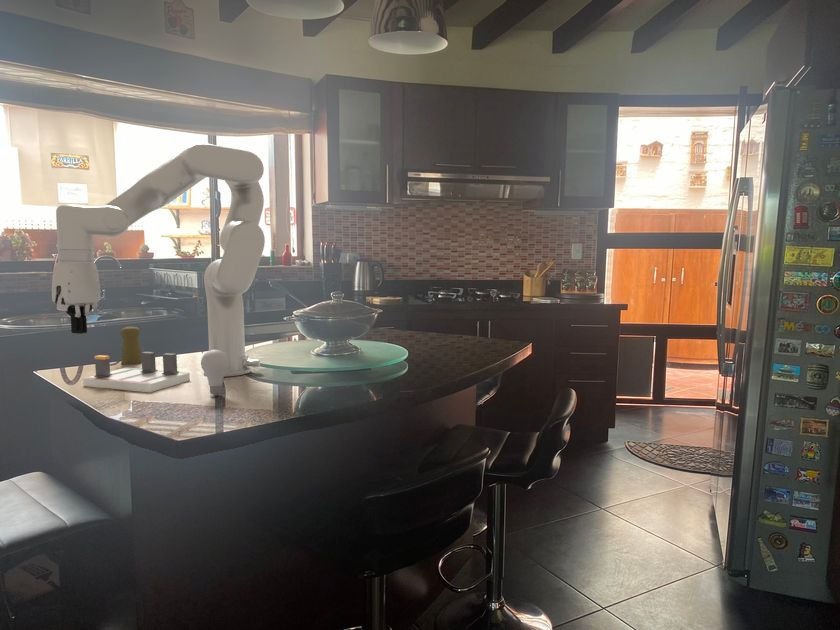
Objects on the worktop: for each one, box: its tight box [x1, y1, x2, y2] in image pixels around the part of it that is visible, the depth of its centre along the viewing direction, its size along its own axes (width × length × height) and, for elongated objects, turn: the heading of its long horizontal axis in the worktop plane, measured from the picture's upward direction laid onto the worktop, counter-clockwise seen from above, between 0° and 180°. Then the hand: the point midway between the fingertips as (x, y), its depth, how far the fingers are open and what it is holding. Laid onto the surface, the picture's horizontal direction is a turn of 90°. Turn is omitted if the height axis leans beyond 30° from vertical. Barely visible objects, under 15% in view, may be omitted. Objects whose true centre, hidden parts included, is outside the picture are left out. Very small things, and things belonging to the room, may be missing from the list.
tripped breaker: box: [93, 354, 112, 378], centre depth 150 cm, size 3×3×5 cm
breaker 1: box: [140, 351, 158, 373], centre depth 155 cm, size 3×3×5 cm
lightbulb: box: [200, 350, 228, 397], centre depth 138 cm, size 6×6×11 cm
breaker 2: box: [162, 352, 180, 375], centre depth 153 cm, size 3×3×5 cm
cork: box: [120, 326, 142, 366], centre depth 178 cm, size 6×6×11 cm
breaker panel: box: [82, 367, 191, 393], centre depth 152 cm, size 14×21×2 cm, turn 71°
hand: (79, 332), depth 143 cm, fingers closed
